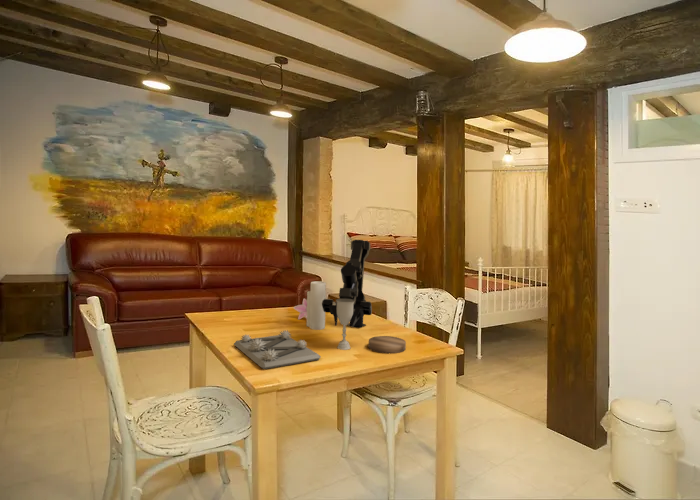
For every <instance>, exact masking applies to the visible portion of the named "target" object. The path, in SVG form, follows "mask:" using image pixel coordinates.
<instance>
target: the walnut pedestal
mask: <svg viewBox="0 0 700 500" xmlns="http://www.w3.org/2000/svg"><path fill="white" fill-rule="evenodd" d="M406 344H407V342H406V340H405V339H403V338H400V337H397V336H391V335H379V336H378V335H377V336H374V337H371V338H369V339H368V349H369V350H371V351H372V352H375V353H378V354H379V353H381V354H389V353H390V354H400V353H402V352H403V353H404V351H406V348H407V345H406Z"/></svg>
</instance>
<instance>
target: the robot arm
mask: <svg viewBox="0 0 700 500" xmlns="http://www.w3.org/2000/svg"><path fill="white" fill-rule="evenodd" d="M350 250H351V254H350V258H349V260H348V261H347V262H345V265H343V266H342V267H341V269H340V273H341V280H342V283H343V284H342V285H343V286H342V287H339V290H338V291H339V293H338V299H353V300H355V302H354V304H353V315H352V318H351V320H350V322H349V324H347V325H346V327H351V328H356V329H361V328H362V327H363V328H364V327H366V326H367V324H366V323H364V316H371V315H372V311H373V306H372V302H371V301H367V300H366V296H365V294H364V292H363V287H364V272H365V261H366V259H367V258H368V256H369V253H370V251H371V243H370V241H368V240H363V239H353V240H352V241H351V242H350ZM322 307H323V310H324V312H325V313H330V315H332V316H333V320H334V321H333V322H334V326H335V327H337V325H338V321H339V319H338V316H337V302H336V301H334V299H332V298H326V299H324V300H323V301H322Z"/></svg>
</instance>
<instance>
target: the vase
mask: <svg viewBox="0 0 700 500" xmlns="http://www.w3.org/2000/svg"><path fill="white" fill-rule="evenodd" d="M326 294H327V282H325V281H321V280H320V281H315V280H314V281H311V282H310V290H308V291H306V300H307V319H306V327H307V328H308V327H309V329H310V330H313V331H314V330H315V331H317V330H319V331H320V330H325V328H326V312H324V310H323V307H322V301H323V300H324V299H327V295H326Z"/></svg>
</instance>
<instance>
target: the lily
mask: <svg viewBox="0 0 700 500" xmlns="http://www.w3.org/2000/svg"><path fill="white" fill-rule="evenodd" d="M293 309H294V310H295V311H297V312H298V313H299V314H298V318H297V320H301V319H302V318H305V319H306V320H307V298H303V300H302V304H298V305H295V306H293Z"/></svg>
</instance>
